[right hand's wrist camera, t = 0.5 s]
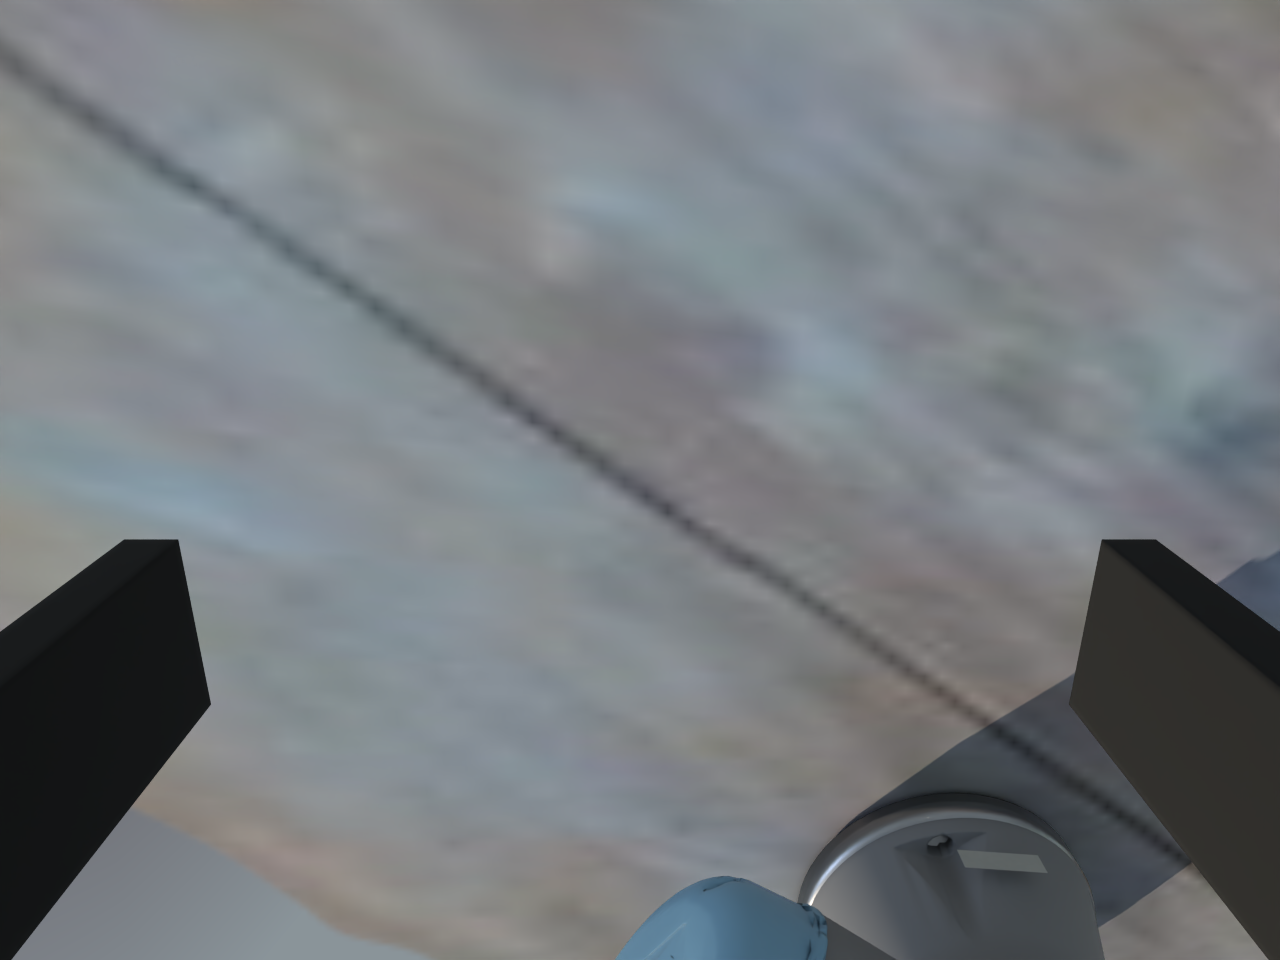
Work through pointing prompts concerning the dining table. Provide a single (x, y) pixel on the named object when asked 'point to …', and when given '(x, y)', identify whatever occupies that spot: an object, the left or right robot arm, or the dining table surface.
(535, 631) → the dining table surface
